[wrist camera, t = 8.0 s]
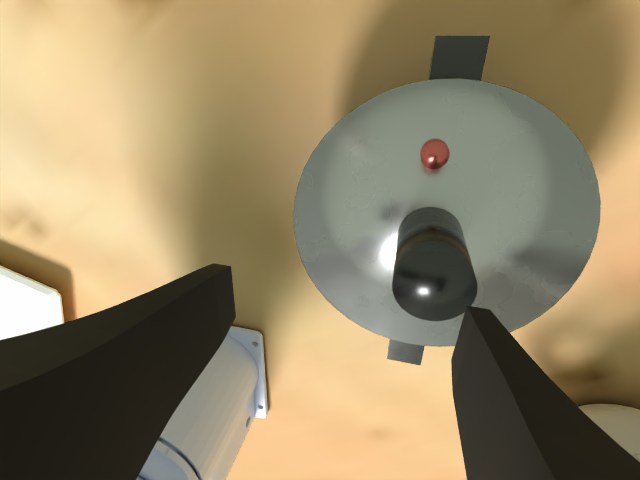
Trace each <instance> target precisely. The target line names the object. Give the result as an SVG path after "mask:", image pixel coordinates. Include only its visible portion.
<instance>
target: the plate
mask: <svg viewBox="0 0 640 480" xmlns="http://www.w3.org/2000/svg"><path fill="white" fill-rule="evenodd" d="M63 323H64V316H63V307H62V298H61V295H60V293H59V292H58V291H57V290H56V289H53V288H51V287H49V286H46V285H44V284H42V283H40V282H37V281H35V280H33V279H30V278H28V277H26V276H23V275H21V274H19V273H17V272H14V271H12V270H10V269H7V268H5V267H3V266H0V340H2V339H6V338H11V337H15V336H19V335H23V334H27V333H31V332H34V331H38V330H41V329H45V328H49V327H52V326H56V325H59V324H63Z"/></svg>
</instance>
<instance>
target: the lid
mask: <svg viewBox="0 0 640 480" xmlns="http://www.w3.org/2000/svg"><path fill="white" fill-rule="evenodd" d="M600 202H601V201H600V194H599V187H598V181H597V178H596V175H595V171H594V168H593V165H592V162H591V160H590V158H589V156H588V155H587V153H586V151H585V149H584V147H583V145H582V143H581V142H580V141H579V139H578V138H577V137H576V136H575V134H574V133H573V132H572V131H571V129H570V128H569V127H568V125H566V124H565V123H564V122H563V121H562V120H561V119H560V118H559V117H558V116H556V115H555V114H554V113H553V112H552V111H551V110H549V109H548V108H546V107H545V106H543V105H542V104H540V103H539V102H537V101H535V100H534V99H532V98H531V97H528V96H526V95H524V94H522V93H519V92H517V91H515V90H512V89H510V88H507V87H503V86H500V85H496V84H492V83H489V82H484V81H477V80H469V79H461V78H456V79H433V80H426V81H419V82H414V83H410V84H407V85H403V86H400V87H397V88H393V89H391V90H389V91H387V92H384V93H382V94H380V95H377V96H375V97H373V98H372V99H370V100H368V101H367V102H365V103H363V104H362V105H360V106H358V107H357V108H355V109H354V110H352V111H351V112H350V113H349V114H347V115H346V116H345V117H344V118H342V119H341V120H340V121H339V122H338V123H337V124H336V125H335V126H334V127H333V128H332V129H331V130H330V131H329V132H328V133H327V134H326V135H325V136H324V137H323V139H322V140H321V141H320V143H319V144H318V146H317V147H316V148H315V150H314V151H313V153H312V155H311V156H310V158H309V160H308V162H307V164H306V166H305V168H304V170H303V173H302V176H301V178H300V181H299V184H298V188H297V193H296V197H295V204H294V216H293V217H294V233H295V238H296V243H297V248H298V251H299V254H300V257H301V260H302V263H303V265H304V267H305V269H306V271H307V273H308V275H309V277H310V278H311V280H312V281H313V283H314V284H315V286H316V287H317V289H318V290H319V291H320V292H321V294H322V295H323V296H324V297H325V298H326V300H327V301H329V302H330V303H331V304H332V305H333V306H334V307H335V308H336V309H337V310H338V311H339V312H341V313H342V314H343V315H345V316H346V317H347V318H348V319H350V320H352V321H353V322H355V323H356V324H358V325H360V326H361V327H363V328H365V329H367V330H369V331H371V332H374V333H376V334H378V335H381V336H384V337H386V338H389V339H392V340H396V341H400V342H404V343H409V344H416V345H422V346H438V347H442V346H455V345H456V342H457V338H458V335H459V331H460V327H461V324H462V320H463V317H464V313H465V309H466V306H472V307H478V308H484V309H490V310H491V311H492V312H493V314H494V315H495V316H496V317H497V318H498V319H499V321H500V322H501V323H502V324H503V326H504V327H505V328H506V329H507V330H508V332H509V333H510V332H512V331H514V330H516V329H518V328H521V327H523V326H525V325H526V324H528V323H530V322H531V321H533V320H534V319H536V318H538V317H539V316H541V315H542V314H543V313H545V312H546V311H547V310H548V309H550V308H551V307H552V306H553V305H555V304H556V303H557V302H558V301H559V300H560V299H561V298H562V297H563V296H564V295H565V294H566V293H567V292H568V291H569V289H570V288H571V287H572V285H573V284H574V283H575V281H576V280H577V279H578V277H579V276H580V274H581V273H582V271H583V269H584V267H585V265H586V264H587V262H588V260H589V258H590V255H591V253H592V250H593V247H594V244H595V242H596V238H597V233H598V228H599V223H600Z"/></svg>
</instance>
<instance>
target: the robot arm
mask: <svg viewBox="0 0 640 480" xmlns="http://www.w3.org/2000/svg"><path fill="white" fill-rule="evenodd" d="M235 317H236V315H235V304H234V294H233V283H232V273H231V266H225V265H219V264H211V265H208V266H206V267H203V268H201V269H199V270H196V271H194V272H192V273H190V274H187V275H185V276H183V277H181V278H179V279H176V280H174V281H172V282H170V283H168V284H165V285H163V286H161V287H159V288H157V289H154V290H152V291H150V292H147V293H145V294H143V295H140V296H138V297H135V298H133V299H131V300H128V301H126V302H123V303H121V304H119V305H116V306H113V307H111V308H108V309H105V310H103V311H100V312H97V313H94V314H91V315H88V316H85V317H82V318H79V319H76V320H73V321H70V322H67V323H63V324H59V325H56V326H52V327H49V328H45V329H41V330H38V331H34V332H31V333H27V334H23V335H19V336H15V337H11V338H6V339H2V340H0V480H226V478H227V476H228V474H229V472H230V469H231V467H232V465H233V463H234V461H235V459H236V456H237V454H238V452H239V450H240V448H241V446H242V443H243V441H244V439H245V437H246V435H247V433H248V431H249V428H250V426H251V424H252V422H253V420H254V418H255V417H258V418H266V417H267V414H268V406H267V391H266V377H265V362H264V348H263V336H262V334H261V333H260V332H258V331H255V330H250V329H245V328H240V327H235V326H231V325H232V323H233V321H234V319H235ZM256 342H257V343H256ZM452 386H453V397H454V404H455V410H456V416H457V422H458V428H459V434H460V440H461V446H462V451H463V457H464V463H465V469H466V475H467V480H640V462H639V461H638V460H637V459H635V458H634V457H633V456H632V455H631V454H630V453H628V452H627V451H626V450H625V449H624V448H623V447H621V446H620V445H619V444H618V443H617V442H616V441H615V440H613V439H612V438H611V437H610V436H609V435H608V434H607V433H606V432H605V431H603V430H602V429H601V428H600V427H599V426H598V425H597V424H596V423H595V422H593V421H592V420H591V419H590V418H589V417H588V416H587V415H586V414H585V413H584V412H583V411H582V410H581V409H580V408H579V407H577V406H576V405H575V404H574V403H573V402H572V401H571V400H570V399H569V398H568V397H567V396H566V394H565V393H564V392H563V391H562V390H561V389H560V388H559V387H558V386H557V385H556V384H555V383H554V382H553V381H552V380H551V379H550V378H549V377H548V376H547V375H546V374H545V373H544V372H543V371H542V369H541V368H540V367H539V366H538V365H537V364H536V363H535V362H534V361H533V360H532V358H531V357H530V356H529V355H528V354H527V353H526V352H525V350H524V349H523V348H522V347H521V346H520V345H519V343H518V342H517V341H516V340H515V339H514V337H513V336H512V335H511V334H510V333H509V332H508V330H507V329H506V328H505V327H504V326H503V324H502V323H501V322H500V321H499V319H498V318H497V317H496V316H495V315H494V314H493V312H492V311H491V310H490V309H484V308H478V307H472V306H466V309H465V313H464V317H463V320H462V324H461V327H460V331H459V335H458V338H457V342H456V345H455V349H454V352H453V356H452Z"/></svg>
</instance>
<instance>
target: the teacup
mask: <svg viewBox="0 0 640 480" xmlns="http://www.w3.org/2000/svg"><path fill="white" fill-rule="evenodd" d="M577 407H579V408H580V409H581V410H582V411H583V412H584V413H585V414H586V415H587V416H588V417H589V418H590V419H591V420H592V421H593V422H595V423H596V424H597V425H598V426H599V427H600V428H601V429H602V430H603V431H605V432H606V433H607V434H608V435H609V436H610V437H611V438H612V439H613V440H615V441H616V442H617V443H618V444H619V445H620V446H621V447H623V448H624V449H625V450H626V451H627V452H628V453H630V454H631V455H632V456H633V457H634V458H635V459H637V460H638V461H639V462H640V409H636V408H633V407H628V406H623V405H615V404H588V405H582V406H577Z"/></svg>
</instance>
